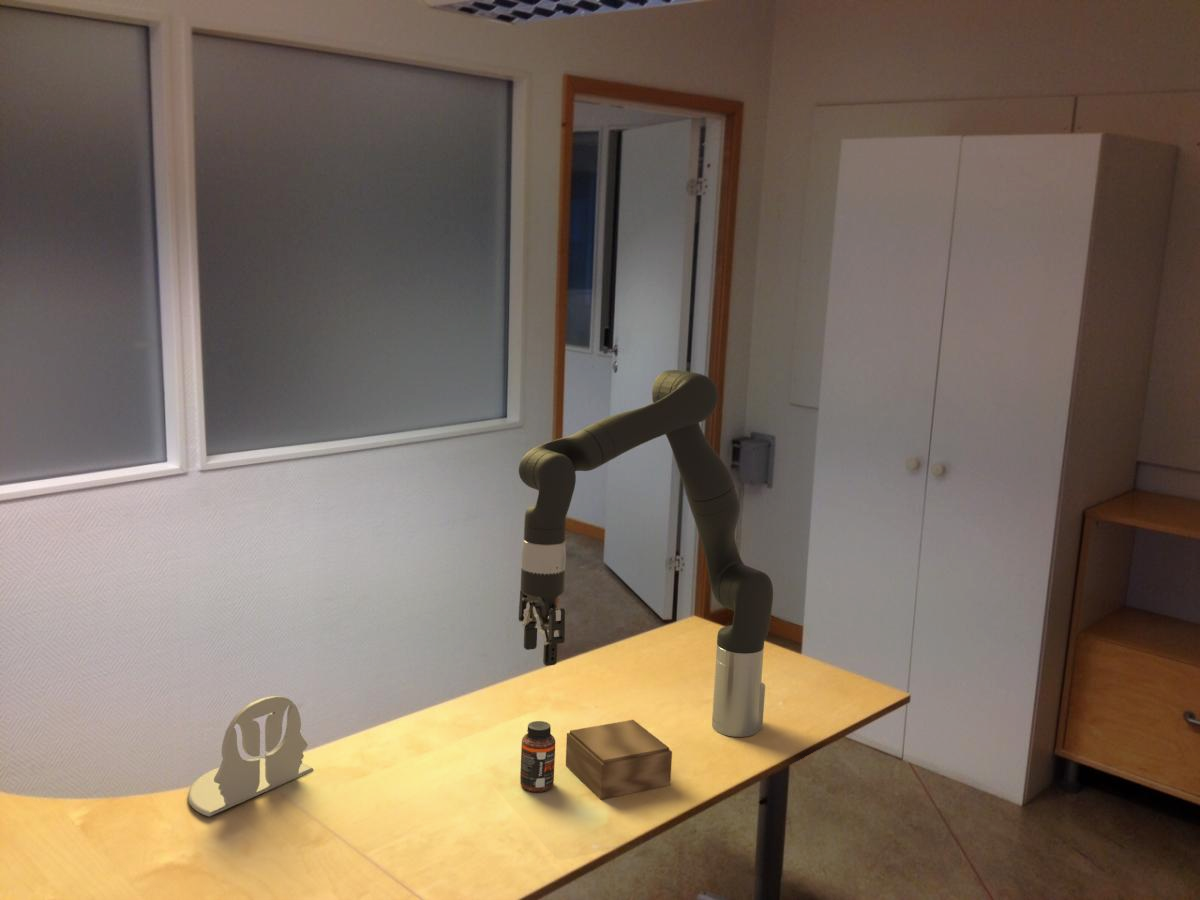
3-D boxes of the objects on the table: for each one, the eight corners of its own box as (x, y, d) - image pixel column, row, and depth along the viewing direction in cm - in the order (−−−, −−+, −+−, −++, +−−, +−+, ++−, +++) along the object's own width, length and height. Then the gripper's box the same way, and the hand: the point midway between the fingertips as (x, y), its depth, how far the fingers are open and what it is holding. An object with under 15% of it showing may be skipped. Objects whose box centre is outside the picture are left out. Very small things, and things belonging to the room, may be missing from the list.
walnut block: (632, 753, 210) (633, 718, 209) (670, 785, 198) (672, 748, 197) (565, 766, 204) (567, 730, 203) (600, 799, 192) (602, 761, 190)
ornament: (209, 817, 180) (207, 720, 178) (160, 792, 188) (158, 699, 185) (315, 770, 198) (315, 681, 195) (267, 749, 206) (266, 663, 203)
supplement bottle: (549, 795, 192) (551, 734, 190) (515, 791, 193) (517, 729, 192) (557, 780, 198) (559, 720, 196) (525, 776, 199) (527, 716, 197)
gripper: (581, 575, 185) (576, 667, 188) (546, 554, 198) (542, 641, 200) (539, 578, 182) (536, 673, 184) (507, 557, 194) (504, 645, 197)
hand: (539, 656), depth 192 cm, fingers open, 8 cm apart
